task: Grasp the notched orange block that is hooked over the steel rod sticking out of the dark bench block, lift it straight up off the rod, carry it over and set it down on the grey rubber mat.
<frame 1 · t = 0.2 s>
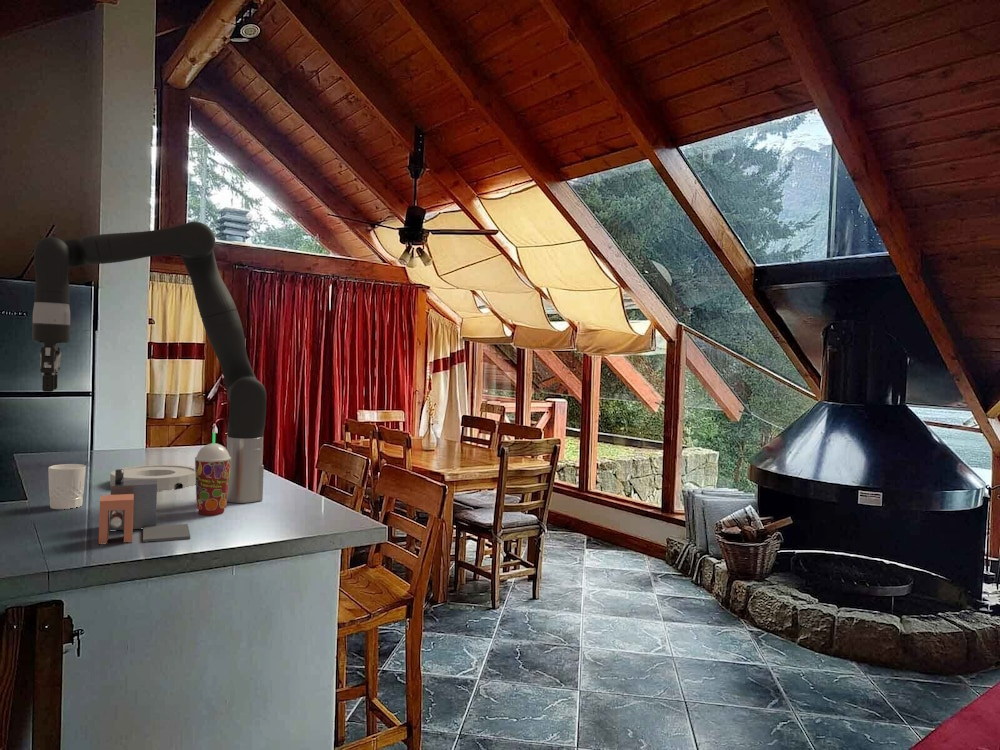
hand: (49, 390, 164), 29 cm above the worktop, tool pointing down, fingers open, 8 cm apart
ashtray: (155, 485, 202), on the worktop
notched orange block: (116, 540, 143), on the worktop
mat: (166, 534, 149), on the worktop
white cup: (66, 507, 170), on the worktop
vise block: (133, 526, 154), on the worktop
smoothie: (211, 513, 170), on the worktop
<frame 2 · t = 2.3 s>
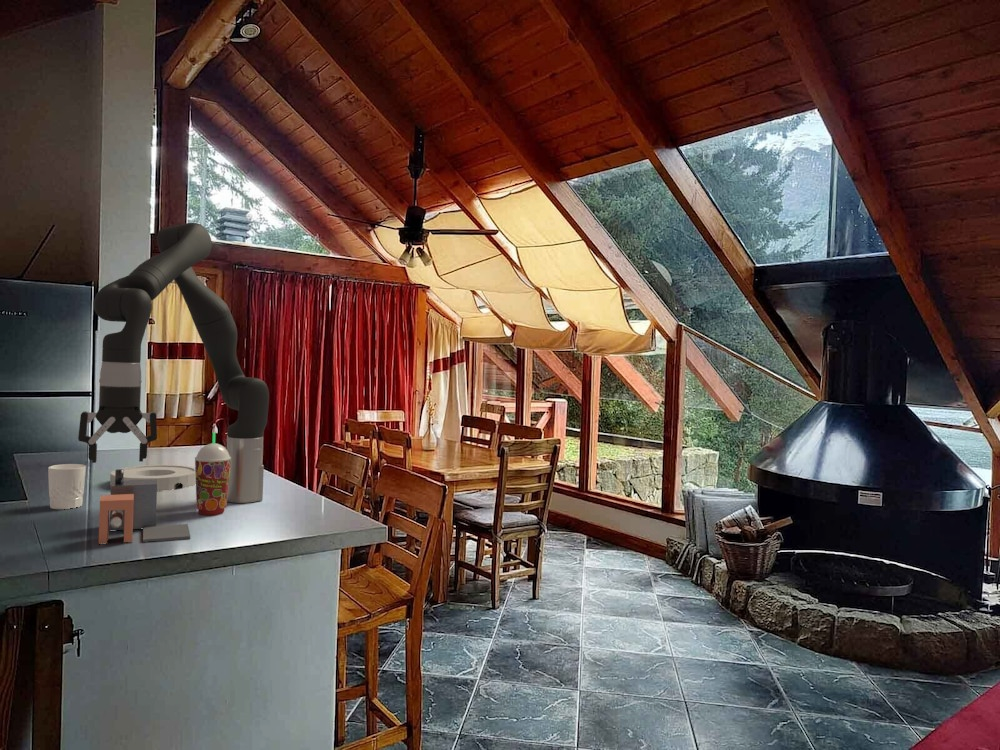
hand: (117, 461, 143), 16 cm above the worktop, tool pointing down, fingers open, 8 cm apart
nothing on the worktop moved.
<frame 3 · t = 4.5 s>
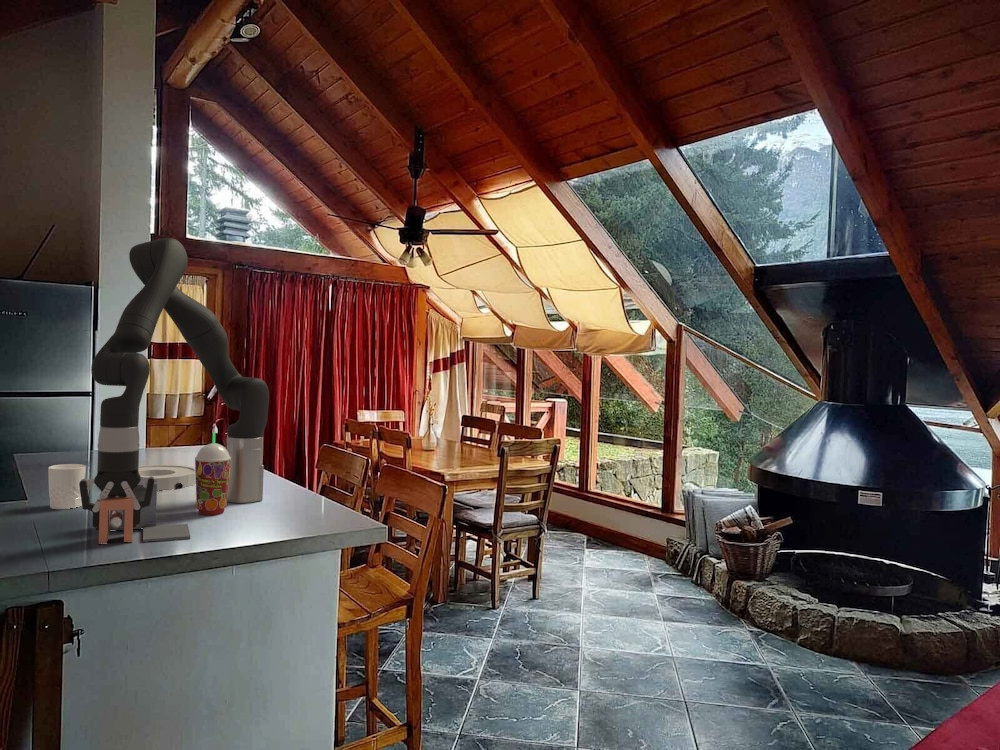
hand: (116, 527, 143), 3 cm above the worktop, tool pointing down, fingers closed on notched orange block, 6 cm apart
notched orange block: (116, 540, 143), on the worktop, touching gripper
everything else where it was.
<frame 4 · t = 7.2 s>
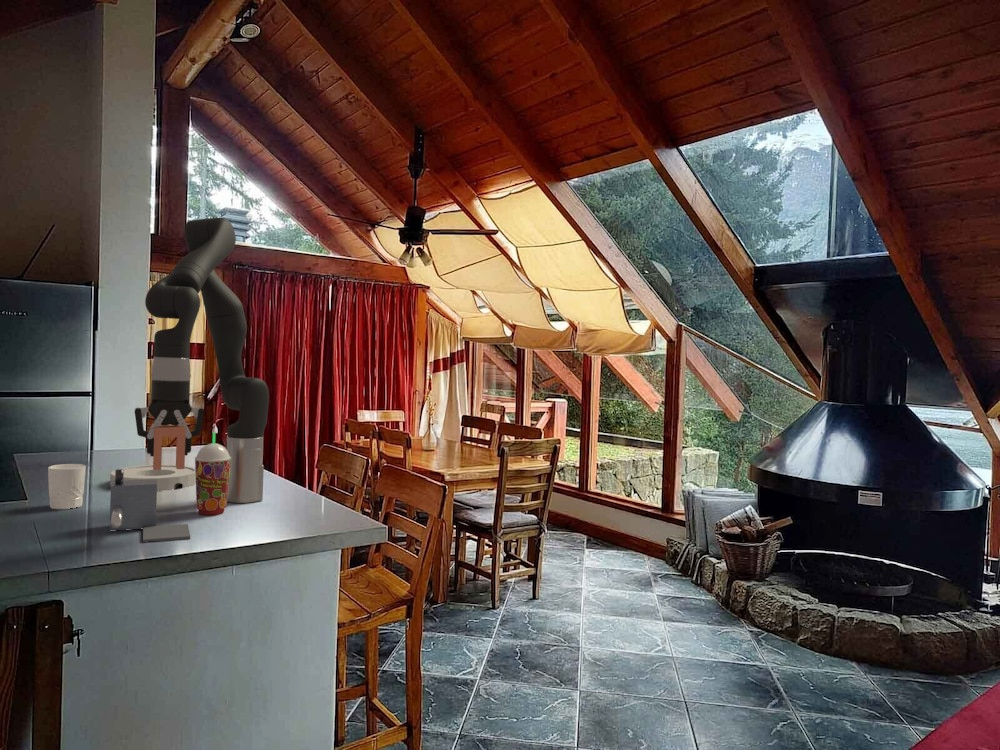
hand: (168, 455, 149), 17 cm above the worktop, tool pointing down, fingers closed on notched orange block, 6 cm apart
notched orange block: (168, 467, 149), point 15 cm above the worktop, touching gripper
everything else where it was.
when the fingers open (5 cm above the worktop, at t = 10.4 s): notched orange block drops 1 cm, resting on mat.
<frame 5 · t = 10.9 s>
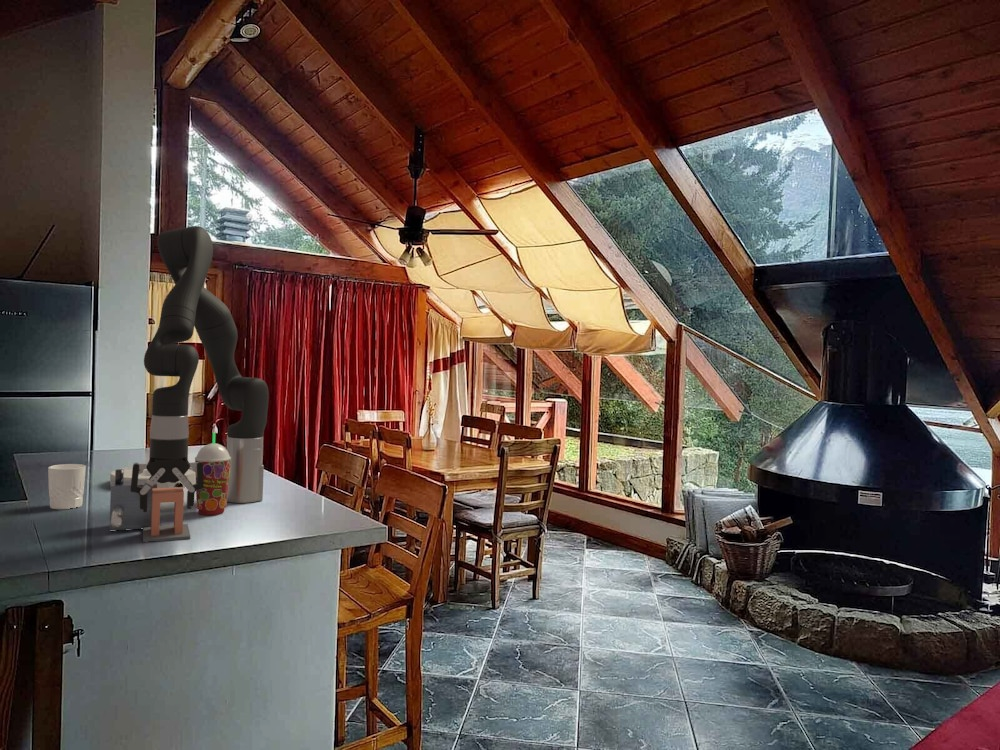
hand: (167, 510, 149), 5 cm above the worktop, tool pointing down, fingers open, 8 cm apart
notched orange block: (166, 531, 150), point 1 cm above the worktop, touching mat
everything else where it was.
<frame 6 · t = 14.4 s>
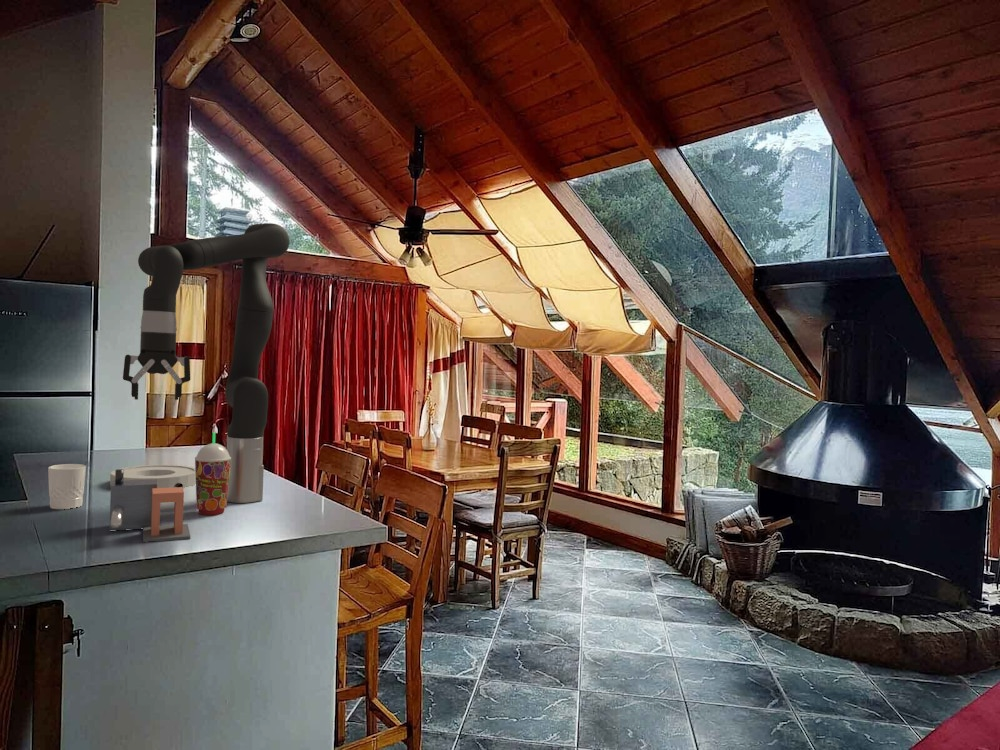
hand: (156, 399, 163), 28 cm above the worktop, tool pointing down, fingers open, 8 cm apart
nothing on the worktop moved.
at the end: notched orange block inside the target area on the mat (0.1 cm from its centre), point 0.6 cm above the mat's base; notched orange block tilted 0°; the gripper is holding nothing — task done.
